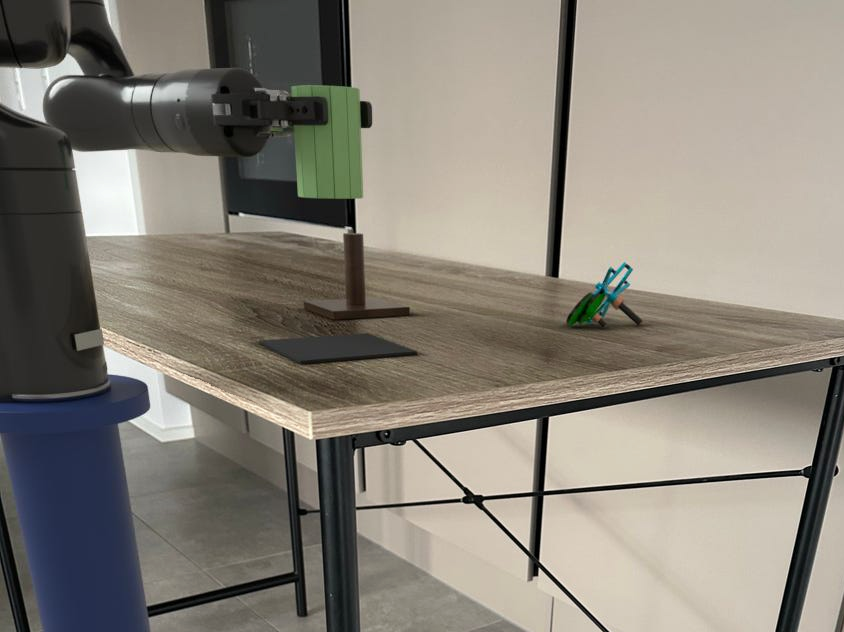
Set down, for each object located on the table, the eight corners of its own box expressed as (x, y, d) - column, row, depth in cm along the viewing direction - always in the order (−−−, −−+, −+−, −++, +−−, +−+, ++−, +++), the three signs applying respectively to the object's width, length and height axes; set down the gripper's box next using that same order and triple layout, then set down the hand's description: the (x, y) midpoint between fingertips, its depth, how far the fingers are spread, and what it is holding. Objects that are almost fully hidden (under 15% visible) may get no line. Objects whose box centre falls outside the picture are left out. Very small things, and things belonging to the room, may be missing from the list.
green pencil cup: (312, 198, 85) (305, 84, 81) (289, 196, 90) (282, 87, 86) (372, 198, 88) (369, 88, 84) (348, 196, 93) (343, 91, 89)
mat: (300, 364, 87) (300, 360, 86) (259, 343, 96) (259, 340, 96) (417, 354, 92) (417, 351, 92) (367, 335, 101) (367, 333, 101)
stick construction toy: (600, 296, 117) (629, 246, 111) (642, 332, 117) (673, 285, 110) (547, 334, 110) (574, 284, 104) (590, 374, 110) (621, 325, 103)
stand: (333, 320, 111) (329, 237, 107) (304, 309, 119) (299, 231, 114) (410, 315, 115) (408, 235, 111) (376, 305, 123) (374, 230, 119)
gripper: (149, 61, 85) (293, 56, 78) (258, 75, 96) (393, 71, 89) (160, 155, 88) (299, 158, 81) (264, 157, 99) (395, 160, 92)
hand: (348, 112), depth 85 cm, fingers closed on green pencil cup, 6 cm apart
